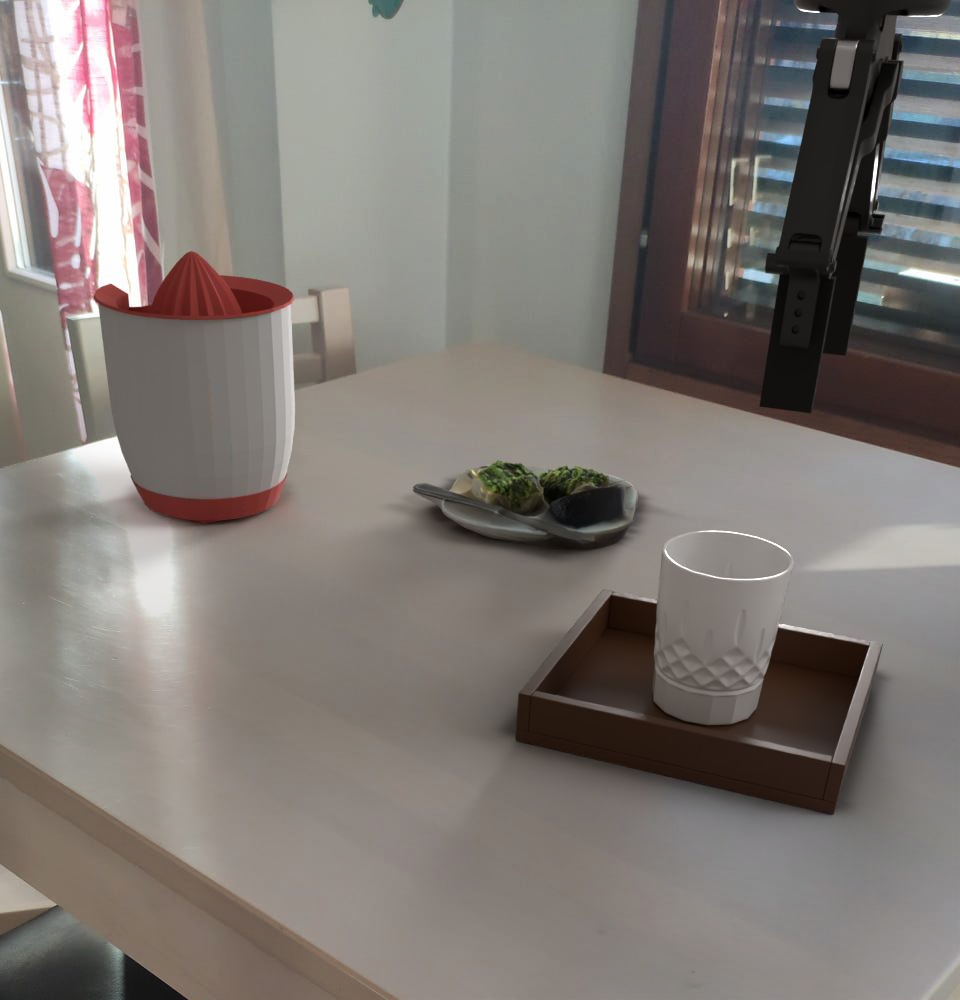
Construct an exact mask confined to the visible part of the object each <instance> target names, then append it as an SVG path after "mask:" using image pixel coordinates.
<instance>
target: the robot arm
mask: <svg viewBox="0 0 960 1000" xmlns="http://www.w3.org/2000/svg"><path fill="white" fill-rule="evenodd" d="M793 3H794V5H795V7H796V8H797V9H798V10H800V12H808V13H821V14H822V13H826V14H837V21H836V27H835V29H834V33H833V37H822V38H821V40H820V43H819V46H817V49H816V52H815V53H816V54H815V59H816V63H815V66H814V70H813V75H812V79H811V80H812V81H811V82H812V85H811V86H812V89H811V95H810V100H809V103H808V108H807V113H806V119H805V123H804V127H803V132H802V137H801V140H800V141H801V142H800V146H799V151H798V155H797V160H796V165H795V169H794V172H793V173H794V174H793V178H792V183H791V188H790V193H789V197H788V201H787V207H786V211H785V216H784V219H783V225H782V230H781V233H780V238H779V239H780V240H779V243H778V246H776V247H775V252H767V254H766V259H765V264H764V272H765V274H771V275H779V276H778V283H777V290H776V295H775V296H776V297H775V302H774V309H773V315H772V323H771V328H770V335H769V340H768V341H769V342H768V346H767V347H768V349H767V354H766V359H765V366H764V372H763V373H764V374H763V380H762V388H761V393H760V400H759V405H758V406H759V407H760V408H766V409H767V408H768V409H774V410H782V411H789V412H798V413H805V414H811V413H812V412H813V410H814V405H815V400H816V395H817V388H818V384H819V383H818V382H819V378H820V372H821V366H822V361H823V356H824V355H823V354H826V355H834V356H841V357H842V356H843V357H846V356H847V354H848V349H849V344H850V340H851V333H852V330H853V329H852V328H853V323H854V318H855V313H856V307H857V302H858V296H859V291H860V287H861V281H862V277H863V276H862V275H863V270H864V266H865V259H866V255H867V250H868V244H869V238H870V236H869V235H860V234H870V235H882V232H883V228H884V225H885V220H886V219H885V218H886V214H882V213H877V211H878V209H879V205H880V200H879V199H878V197H879V191H880V185H881V184H880V183H881V177H882V171H883V164H884V159H885V158H884V157H885V150H886V143H887V139H888V134H889V131H890V128H891V123H892V120H893V115H894V107H895V106H894V105H895V101H896V99H897V98H898V93H899V90H900V86H901V82H902V79H903V73H904V72H903V71H904V65H905V61H904V60H903V59H902V60H901V59H900V54H901V53H902V52H903V48H904V41H903V33H896V31H897V29H896V26H897V19H898V17H925V18H926V17H929V18H930V17H939V16H942V15H944V14H945V13H946V12H947V11H948V9H950V6H951V4H952V0H793ZM899 59H900V60H899Z"/></svg>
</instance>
